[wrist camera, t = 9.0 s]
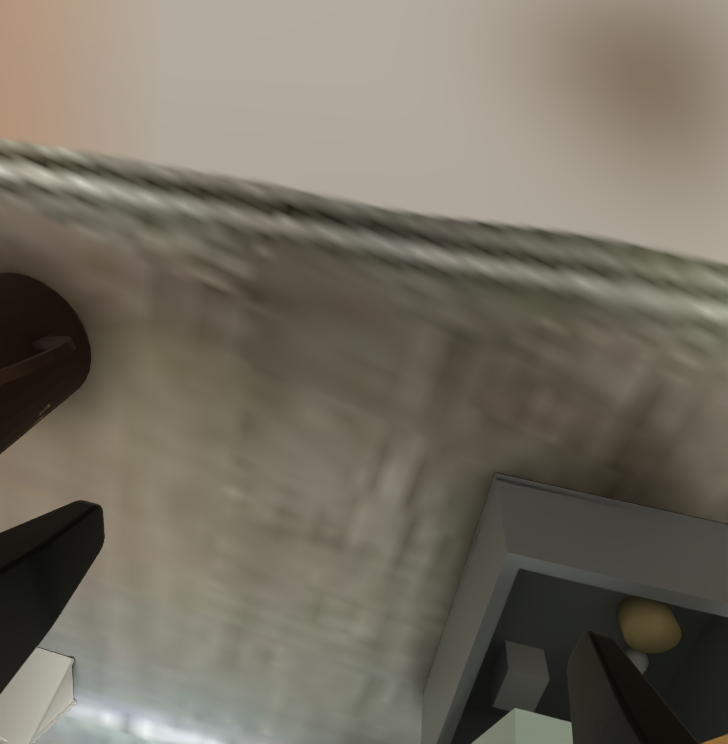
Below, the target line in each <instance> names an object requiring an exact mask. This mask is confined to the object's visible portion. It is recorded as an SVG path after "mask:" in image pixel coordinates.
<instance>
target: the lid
mask: <svg viewBox="0 0 728 744" xmlns="http://www.w3.org/2000/svg"><path fill="white" fill-rule="evenodd" d="M471 744H573V737H572V725H571V722H568V721H564V720H560V719H556V718H552V717H548V716H544V715H541V714H537V713H533V712H529V711H525V710H521V709H517V708H514V709H513V710H512V711H510V712H509V713H508V714H507V715H506V716H504V717H503V718H502V719H501V720H499V721H498V722H497V723H496V724H495V725H493V726H492V727H491V728H490V729H488V730H487V731H486V732H485V733H484V734H482V735H481V736H480V737H479V738H477V739H476V740H475V741H474V742H473V743H471ZM701 744H728V734H727V735H724V736H721V737H718V738H715V739H712V740H710V741H707V742H704V743H701Z"/></svg>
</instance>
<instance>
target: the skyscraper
mask: <svg viewBox="0 0 728 744" xmlns="http://www.w3.org/2000/svg"><path fill="white" fill-rule="evenodd" d="M73 662H74V659H73V658H70V657H66V656H63V655H60V654H57V653H54V652H51V651H47V650H44V649H41V648H38V647H36V649H35V650H34V651H33V653H32V654H31V655H30V656H29V658H28V659H27V660H26V662H25V663H24V664H23V666H22V667H21V668H20V669H19V671H18V672H17V673H16V675H15V676H14V677H13V679H12V680H11V681H10V682H9V684H8V685H7V686H6V688H5V689H4V690H3V692H2V693H1V694H0V744H33V743H34V742H35V741H36V740H37V739H38V738H39V737H41V736H42V735H43V734H44V733H45V732H46V731H47V730H48V729H49V728H50V727H51V726H52V725H54V724H55V723H56V722H57V721H58V720H59V719H60V718H61V717H62V716H63V715H64V714H65V713H66V712H68V711H69V710H70V709H71V708H72V707H73V706H74V705H75V704H76V700H74V695H73V676H72V664H73Z"/></svg>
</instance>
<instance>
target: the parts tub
mask: <svg viewBox="0 0 728 744" xmlns="http://www.w3.org/2000/svg"><path fill="white" fill-rule="evenodd" d="M587 630H591V631H595V632H599V633H603V634H607V635H609V636H611V637H612V638H613V639H614V640H615V641H616V642H617V643H618V645H619V646H620V647H621V648H622V649H623V651H624V652H625V653H626V654H627V656H628V657H629V658H630V659H631V661H632V662H633V663H634V664H635V666H636V667H637V668H638V669H639V670H640V672H641V673H642V674H643V675H644V677H645V678H646V679H647V680H648V682H649V683H650V684H651V685H652V687H653V688H654V689H655V690H656V691H657V693H658V694H659V695H660V696H661V698H662V699H663V700H664V701H665V703H666V704H667V705H668V706H669V708H670V709H671V710H672V711H673V712H674V714H675V715H676V716H677V717H678V719H679V720H680V721H681V722H682V724H683V725H684V726H685V727H686V729H687V730H688V731H689V732H690V734H691V735H692V736H693V737H694V738H695V740H696V741H697V742H698V743H699V744H701V743H704V742H707V741H710V740H712V739H715V738H718V737H721V736H724V735H727V734H728V525H727V524H723V523H718V522H714V521H709V520H705V519H700V518H696V517H691V516H687V515H682V514H678V513H673V512H669V511H664V510H660V509H655V508H651V507H646V506H642V505H637V504H633V503H628V502H624V501H619V500H615V499H610V498H606V497H601V496H597V495H592V494H588V493H583V492H579V491H574V490H570V489H565V488H561V487H556V486H552V485H547V484H543V483H538V482H534V481H529V480H525V479H520V478H516V477H511V476H507V475H502V474H498V473H495V475H494V478H493V481H492V484H491V487H490V490H489V494H488V497H487V500H486V503H485V506H484V509H483V512H482V515H481V518H480V521H479V524H478V527H477V530H476V533H475V536H474V539H473V542H472V545H471V549H470V552H469V555H468V558H467V561H466V564H465V567H464V570H463V573H462V576H461V579H460V582H459V585H458V588H457V591H456V594H455V597H454V601H453V604H452V607H451V610H450V613H449V616H448V619H447V622H446V625H445V628H444V631H443V634H442V637H441V640H440V643H439V646H438V649H437V652H436V656H435V659H434V662H433V665H432V668H431V671H430V674H429V677H428V680H427V683H426V686H425V689H424V692H423V713H422V735H421V744H471V743H473V742H474V741H475V740H476V739H477V738H479V737H480V736H481V735H482V734H484V733H485V732H486V731H487V730H488V729H490V728H491V727H492V726H493V725H495V724H496V723H497V722H498V721H499V720H501V719H502V718H503V717H504V716H506V715H507V714H508V713H509V712H510V711H512V710H513V709H514V708H517V709H521V710H525V711H529V712H533V713H537V714H541V715H544V716H548V717H552V718H556V719H560V720H564V721H568V722H571V713H570V701H569V689H568V677H567V667H568V662H569V659H570V657H571V655H572V653H573V651H574V649H575V647H576V645H577V643H578V642H579V640H580V638H581V636H582V634H583V633H584V632H585V631H587Z"/></svg>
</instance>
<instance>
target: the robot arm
mask: <svg viewBox="0 0 728 744" xmlns="http://www.w3.org/2000/svg"><path fill="white" fill-rule="evenodd" d="M104 538H105V534H104V518H103V509H102V507H101V506H100V505H99V504H95V503H91V502H87V501H83V500H79V501H75V502H73V503H70V504H68V505H65V506H63V507H61V508H58V509H56V510H54V511H51V512H49V513H47V514H44V515H42V516H39V517H37V518H35V519H32V520H30V521H28V522H25V523H23V524H20V525H18V526H16V527H13V528H11V529H9V530H6V531H4V532H2V533H0V694H1V693H2V692H3V690H4V689H5V688H6V686H7V685H8V684H9V682H10V681H11V680H12V679H13V677H14V676H15V675H16V673H17V672H18V671H19V669H20V668H21V667H22V666H23V664H24V663H25V662H26V660H27V659H28V658H29V656H30V655H31V654H32V653H33V651H34V650H35V649H36V647H37V646H38V645H39V644H40V642H41V641H42V640H43V638H44V637H45V636H46V634H47V633H48V631H49V630H50V629H51V627H52V626H53V624H54V623H55V621H56V620H57V618H58V617H59V615H60V614H61V612H62V611H63V609H64V608H65V606H66V604H67V603H68V601H69V600H70V598H71V597H72V595H73V593H74V592H75V590H76V589H77V587H78V585H79V584H80V582H81V581H82V579H83V578H84V576H85V574H86V573H87V571H88V570H89V568H90V566H91V565H92V563H93V562H94V560H95V559H96V557H97V555H98V554H99V552H100V550H101V549H102V546H103V543H104ZM567 677H568V689H569V701H570V713H571V725H572V737H573V744H699V743H698V742H697V741H696V740H695V738H694V737H693V736H692V735H691V734H690V732H689V731H688V730H687V729H686V727H685V726H684V725H683V724H682V722H681V721H680V720H679V719H678V717H677V716H676V715H675V714H674V712H673V711H672V710H671V709H670V708H669V706H668V705H667V704H666V703H665V701H664V700H663V699H662V698H661V696H660V695H659V694H658V693H657V691H656V690H655V689H654V688H653V687H652V685H651V684H650V683H649V682H648V680H647V679H646V678H645V677H644V675H643V674H642V673H641V672H640V670H639V669H638V668H637V667H636V666H635V664H634V663H633V662H632V661H631V659H630V658H629V657H628V656H627V654H626V653H625V652H624V651H623V649H622V648H621V647H620V646H619V645H618V643H617V642H616V641H615V640H614V639H613V638H612V637H611V636H609V635H607V634H603V633H599V632H595V631H591V630H587V631H585V632H584V633H583V634H582V636H581V638H580V640H579V642H578V643H577V645H576V647H575V649H574V651H573V653H572V655H571V657H570V659H569V662H568V667H567Z"/></svg>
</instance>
